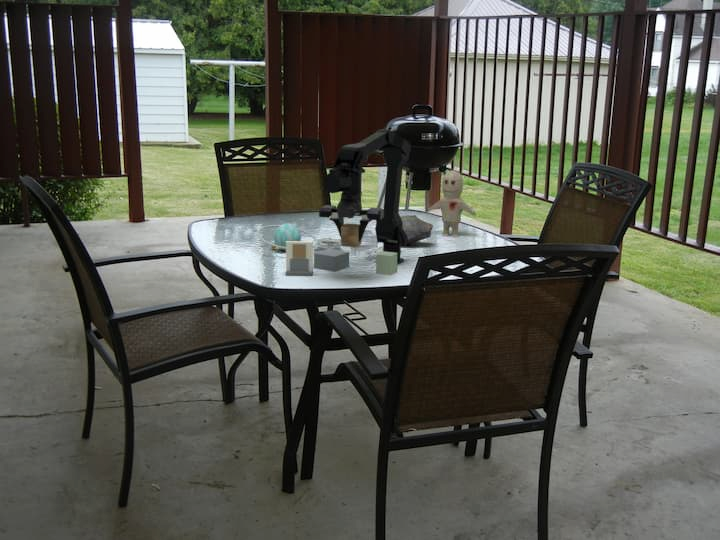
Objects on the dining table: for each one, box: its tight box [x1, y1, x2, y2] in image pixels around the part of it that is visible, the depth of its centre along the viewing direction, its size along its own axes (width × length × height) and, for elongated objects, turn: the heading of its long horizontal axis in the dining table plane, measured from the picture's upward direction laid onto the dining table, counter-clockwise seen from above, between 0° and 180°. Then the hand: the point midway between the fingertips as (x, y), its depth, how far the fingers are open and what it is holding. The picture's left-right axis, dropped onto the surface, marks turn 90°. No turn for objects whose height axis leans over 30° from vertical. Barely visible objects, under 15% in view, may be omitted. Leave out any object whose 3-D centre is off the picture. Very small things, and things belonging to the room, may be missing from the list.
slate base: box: [313, 248, 350, 272], centre depth 243 cm, size 8×8×5 cm
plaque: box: [285, 240, 314, 277], centre depth 234 cm, size 8×5×10 cm, turn 91°
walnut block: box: [340, 222, 362, 248], centre depth 230 cm, size 5×5×6 cm
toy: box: [427, 169, 477, 238], centre depth 292 cm, size 18×8×25 cm, turn 65°
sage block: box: [375, 250, 398, 276], centre depth 238 cm, size 5×5×6 cm
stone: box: [400, 214, 434, 245], centre depth 278 cm, size 18×10×15 cm
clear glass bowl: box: [256, 222, 319, 252], centre depth 265 cm, size 10×20×20 cm
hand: (351, 240), depth 231 cm, fingers closed on walnut block, 5 cm apart
